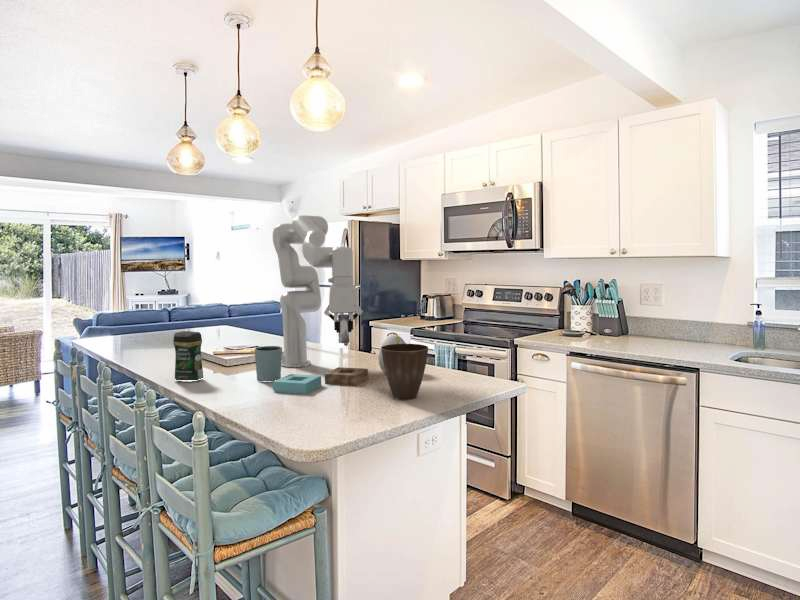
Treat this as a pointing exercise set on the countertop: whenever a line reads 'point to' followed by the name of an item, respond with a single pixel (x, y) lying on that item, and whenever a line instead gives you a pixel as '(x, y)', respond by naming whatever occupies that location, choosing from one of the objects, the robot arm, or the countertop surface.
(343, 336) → the pin
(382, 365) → the decorative egg
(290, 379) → the socket block
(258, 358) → the grey-blue cup
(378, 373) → the countertop surface
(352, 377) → the mount block
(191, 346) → the coffee jar
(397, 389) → the plant pot
